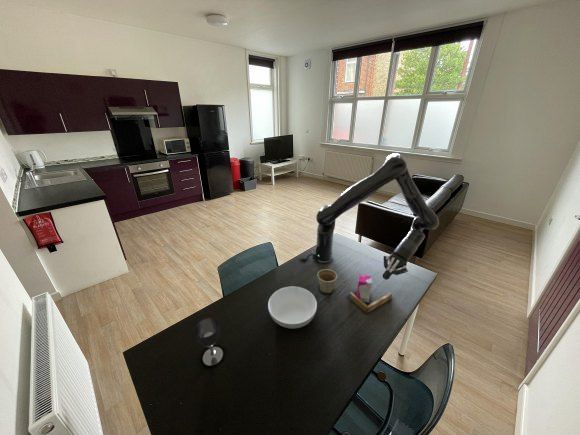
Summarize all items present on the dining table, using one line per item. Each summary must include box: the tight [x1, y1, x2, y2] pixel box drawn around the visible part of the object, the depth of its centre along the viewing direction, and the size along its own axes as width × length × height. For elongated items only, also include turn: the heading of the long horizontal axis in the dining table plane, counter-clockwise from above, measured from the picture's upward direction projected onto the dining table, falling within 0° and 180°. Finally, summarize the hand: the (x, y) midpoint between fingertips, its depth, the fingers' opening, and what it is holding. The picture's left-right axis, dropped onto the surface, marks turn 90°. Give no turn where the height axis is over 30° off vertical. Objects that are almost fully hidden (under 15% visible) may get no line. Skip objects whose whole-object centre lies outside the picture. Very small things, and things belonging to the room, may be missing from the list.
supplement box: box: [355, 273, 373, 304], centre depth 111 cm, size 6×6×12 cm
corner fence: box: [348, 292, 393, 314], centre depth 112 cm, size 16×11×3 cm, turn 121°
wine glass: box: [193, 317, 224, 367], centre depth 84 cm, size 8×8×15 cm
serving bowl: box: [267, 285, 318, 330], centre depth 103 cm, size 21×21×7 cm
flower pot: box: [317, 268, 338, 294], centre depth 117 cm, size 9×9×9 cm
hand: (384, 278), depth 112 cm, fingers closed
